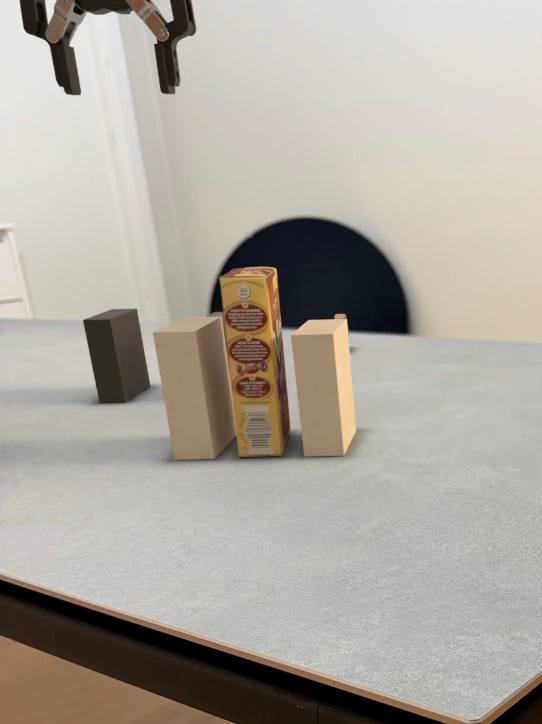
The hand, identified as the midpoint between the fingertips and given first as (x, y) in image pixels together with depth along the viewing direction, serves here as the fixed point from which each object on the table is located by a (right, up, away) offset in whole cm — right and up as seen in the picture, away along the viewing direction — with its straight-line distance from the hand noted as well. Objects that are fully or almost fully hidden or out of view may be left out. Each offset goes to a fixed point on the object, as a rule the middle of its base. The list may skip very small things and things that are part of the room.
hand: (121, 94), depth 85 cm
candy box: (+12, -31, +4) cm, 33 cm away
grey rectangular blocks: (-4, -20, +27) cm, 33 cm away
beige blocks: (+12, -30, +4) cm, 33 cm away
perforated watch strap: (+13, -8, +51) cm, 53 cm away
